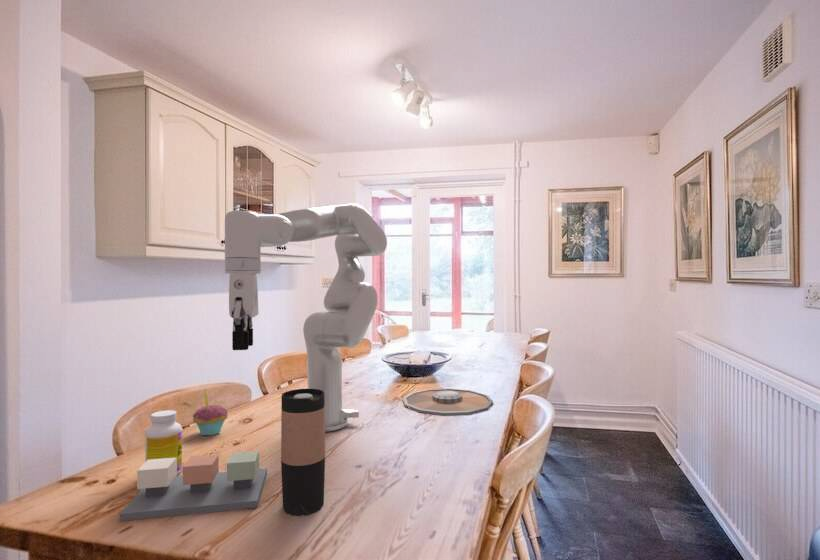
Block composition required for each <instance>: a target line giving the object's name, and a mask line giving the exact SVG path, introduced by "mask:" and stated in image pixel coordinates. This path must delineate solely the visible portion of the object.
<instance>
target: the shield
mask: <svg viewBox="0 0 820 560" xmlns="http://www.w3.org/2000/svg"><path fill="white" fill-rule="evenodd" d="M402 402H404V403H403V406H404V405H405V406H406V407H409V408H411V409H410V410H412V409H413V410H412V411H414V410H416V411H415V412H417V411H418V413H419V412H423V413H422V414H427V413H431V414H430V415H436V414H438V416H467V415H473V414H476V413H481V412H485V411H488V410H489V409H490V408H491V407H492V405H494V400H492V398H490V397H489V396H488V395H487V394H483V393H480V392H476V391H473V390H466V389H459V388H458V389H457V388H429V389H423V390H418V391H412V392H410V393H409V394H407V395H406V396H405V395H404V396H403V397H402ZM405 406H404V407H405ZM490 406H491V407H490ZM406 407H405V408H406ZM489 407H490V408H489ZM409 408H408V409H409ZM488 408H489V409H488ZM480 411H481V412H480Z"/></svg>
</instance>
